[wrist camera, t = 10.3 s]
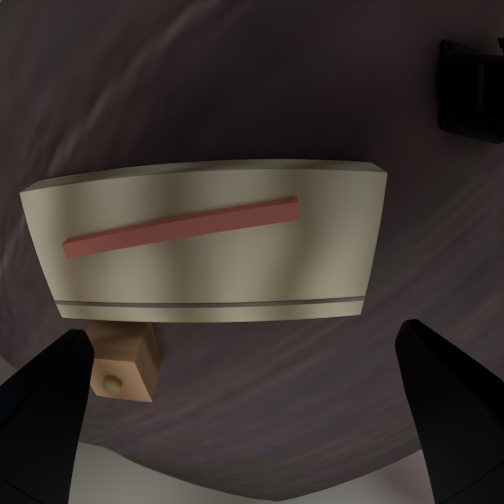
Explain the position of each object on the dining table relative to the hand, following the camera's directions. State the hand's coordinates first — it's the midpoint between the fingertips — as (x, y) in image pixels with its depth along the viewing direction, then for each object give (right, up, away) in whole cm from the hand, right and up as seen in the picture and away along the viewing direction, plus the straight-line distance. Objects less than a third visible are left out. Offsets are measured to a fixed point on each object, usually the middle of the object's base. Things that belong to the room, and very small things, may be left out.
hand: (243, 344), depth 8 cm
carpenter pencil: (-4, +4, +9) cm, 10 cm away
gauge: (-10, -5, +16) cm, 20 cm away
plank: (-3, +3, +12) cm, 13 cm away
